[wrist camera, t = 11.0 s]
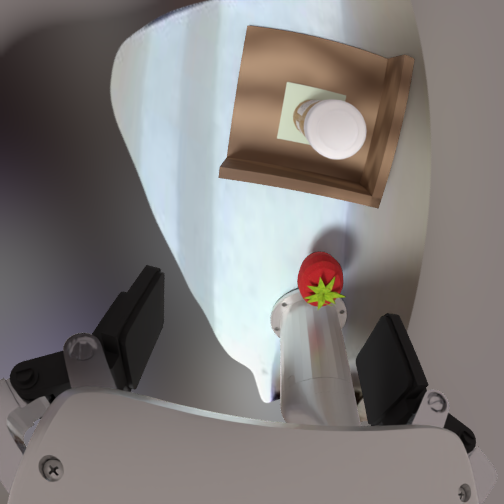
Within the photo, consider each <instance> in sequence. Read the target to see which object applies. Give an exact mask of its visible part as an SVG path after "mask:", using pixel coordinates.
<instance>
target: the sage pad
mask: <svg viewBox="0 0 504 504" xmlns="http://www.w3.org/2000/svg"><path fill="white" fill-rule="evenodd" d="M328 99H335V100H341V101H345V100H346V95H342V94H338V93H335V92H331V91H327V90H323V89H318V88H314V87H310V86H305V85H300V84H295V83H290V82H287V85H286V90H285V96H284V101H283V107H282V113H281V118H280V124H279V129H278V135H277V139H283V140H288V141H293V142H298V143H303V144H308V145H310V144H309V142H308V141H307V139H306V137H305V136H304V135H303V134H302V133H301V132H300V131H298V130H297V128H296V127H295V124H294V122H293V113H294V111H295V108H296V107H297V106H298V105H299V104H300V103H302V102H303V101H306V100H328Z"/></svg>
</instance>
